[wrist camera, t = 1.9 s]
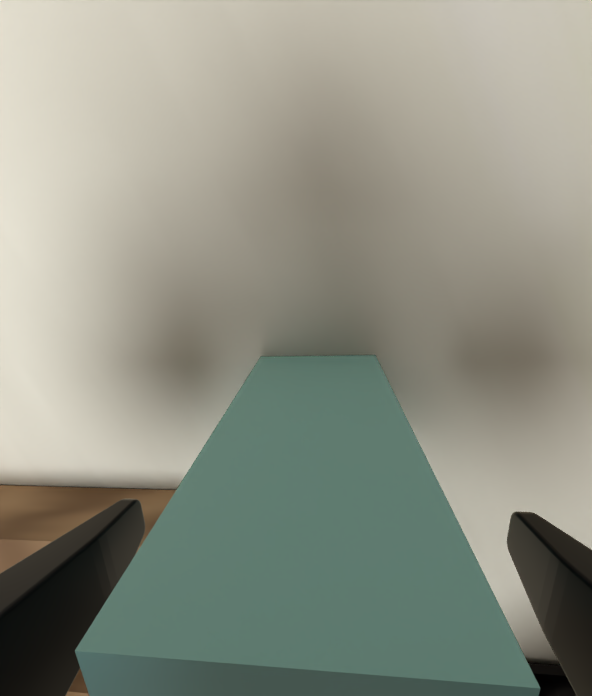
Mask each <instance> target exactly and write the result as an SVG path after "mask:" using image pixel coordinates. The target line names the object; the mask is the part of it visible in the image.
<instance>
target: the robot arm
mask: <svg viewBox="0 0 592 696" xmlns="http://www.w3.org/2000/svg"><path fill="white" fill-rule="evenodd" d="M144 533H145V520H144V516H143V511H142V506H141V502H140V501H139V500H138V499H121V500H120V501H118V502H116V503H115V504H113V505H111V506H110V507H108V508H106V509H105V510H103V511H102V512H100V513H98V514H97V515H95V516H93V517H92V518H90V519H88V520H87V521H85V522H84V523H82V524H80V525H79V526H77V527H75V528H74V529H72V530H70V531H69V532H67V533H66V534H64V535H62V536H61V537H59V538H57V539H56V540H54V541H52V542H51V543H49V544H48V545H46V546H44V547H43V548H41V549H39V550H38V551H36V552H34V553H33V554H31V555H29V556H28V557H26V558H25V559H23V560H21V561H20V562H18V563H16V564H15V565H13V566H11V567H10V568H8V569H7V570H5V571H3V572H2V573H0V696H66V694H67V692H68V690H69V688H70V686H71V685H72V683H73V681H74V679H75V677H76V675H77V673H78V671H79V669H80V666H79V662H78V659H77V656H76V653H75V650H76V648H77V646H78V645H79V643H80V642H81V640H82V639H83V637H84V635H85V634H86V632H87V631H88V629H89V627H90V626H91V624H92V623H93V621H94V620H95V618H96V616H97V615H98V613H99V612H100V610H101V608H102V607H103V605H104V604H105V602H106V601H107V599H108V597H109V596H110V594H111V593H112V591H113V589H114V588H115V586H116V585H117V583H118V582H119V580H120V578H121V577H122V575H123V574H124V572H125V570H126V569H127V567H128V566H129V564H130V563H131V561H132V559H133V558H134V556H135V555H136V552H137V550H138V548H139V545H140V543H141V541H142V538H143V536H144ZM507 546H508V550H509V553H510V555H511V557H512V560H513V562H514V565H515V567H516V569H517V572H518V574H519V576H520V579H521V581H522V583H523V586H524V588H525V591H526V593H527V595H528V598H529V600H530V602H531V605H532V607H533V609H534V612H535V614H536V617H537V619H538V621H539V623H540V625H541V628H542V630H543V632H544V634H545V636H546V638H547V640H548V642H549V644H550V646H551V648H552V650H553V652H554V653H555V655H556V657H557V659H558V661H559V663H560V665H561V666H559V665H546V664H532V663H528V664H529V666H530V668H531V670H532V672H533V674H534V676H535V678H536V680H537V682H538V684H539V686H540V692H539V696H592V550H591V549H589V548H588V547H586V546H585V545H583V544H582V543H580V542H579V541H577V540H575V539H574V538H572V537H571V536H569V535H568V534H566V533H565V532H563V531H562V530H560V529H558V528H557V527H555V526H554V525H552V524H551V523H549V522H548V521H546V520H545V519H543V518H541V517H540V516H538V515H537V514H535V513H532V512H514V513H513V514H512V515H511V520H510V525H509V531H508V537H507Z"/></svg>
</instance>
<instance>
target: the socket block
mask: <svg viewBox="0 0 592 696" xmlns="http://www.w3.org/2000/svg"><path fill="white" fill-rule="evenodd" d="M175 491H176V490H153V489H118V488H83V487H47V486H12V485H0V573H2V572H3V571H5V570H7V569H8V568H10V567H11V566H13V565H15V564H16V563H18V562H20V561H21V560H23V559H25V558H26V557H28V556H29V555H31V554H33V553H34V552H36V551H38V550H39V549H41V548H43V547H44V546H46V545H48V544H49V543H51V542H52V541H54V540H56V539H57V538H59V537H61V536H62V535H64V534H66V533H67V532H69V531H70V530H72V529H74V528H75V527H77V526H79V525H80V524H82V523H84V522H85V521H87V520H88V519H90V518H92V517H93V516H95V515H97V514H98V513H100V512H102V511H103V510H105V509H106V508H108V507H110V506H111V505H113V504H115V503H116V502H118V501H120V500H121V499H138V500H139V501H140V502H141V506H142V511H143V516H144V520H145V533H144V536H143V538H142V541H141V543H140V545H139V548H140V547H141V545H142V544H143V542H144V540H145V539H146V537H147V536H148V534H149V533H150V531H151V529H152V528H153V526H154V525H155V523H156V521H157V520H158V518H159V517H160V515H161V514H162V512H163V510H164V509H165V507H166V506H167V504H168V502H169V501H170V499H171V498H172V496H173V495H174V493H175ZM139 548H138V550H139ZM138 550H137V552H138ZM137 552H136V553H137ZM66 696H89V693H88V690H87V687H86V684H85V681H84V678H83V675H82V672H81V669H79V671H78V673H77V675H76V677H75V679H74V681H73V683H72V685H71V686H70V688H69V690H68V692H67V694H66Z"/></svg>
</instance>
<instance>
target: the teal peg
mask: <svg viewBox="0 0 592 696" xmlns="http://www.w3.org/2000/svg"><path fill="white" fill-rule="evenodd" d="M75 653H76V656H77V659H78V662H79V666H80V669H81V672H82V675H83V678H84V681H85V684H86V687H87V690H88V693H89V696H539V692H540V686H539V684H538V682H537V680H536V678H535V676H534V674H533V672H532V670H531V668H530V666H529V664H528V662H527V660H526V658H525V656H524V654H523V652H522V650H521V648H520V646H519V644H518V642H517V640H516V638H515V636H514V634H513V632H512V630H511V628H510V626H509V624H508V622H507V620H506V618H505V616H504V614H503V612H502V610H501V608H500V606H499V604H498V602H497V600H496V598H495V596H494V594H493V592H492V590H491V588H490V586H489V583H488V581H487V579H486V577H485V575H484V573H483V571H482V569H481V567H480V565H479V563H478V561H477V559H476V557H475V555H474V553H473V551H472V549H471V547H470V545H469V543H468V541H467V539H466V537H465V535H464V533H463V531H462V529H461V527H460V525H459V523H458V521H457V519H456V517H455V515H454V513H453V511H452V509H451V507H450V505H449V503H448V501H447V499H446V497H445V495H444V493H443V491H442V489H441V487H440V485H439V483H438V481H437V479H436V477H435V475H434V473H433V471H432V469H431V467H430V465H429V463H428V461H427V459H426V456H425V454H424V452H423V450H422V448H421V446H420V444H419V442H418V440H417V438H416V436H415V434H414V432H413V430H412V428H411V426H410V424H409V422H408V420H407V418H406V416H405V414H404V412H403V410H402V408H401V406H400V404H399V402H398V400H397V398H396V396H395V394H394V392H393V390H392V388H391V386H390V384H389V382H388V380H387V378H386V376H385V374H384V372H383V370H382V368H381V366H380V364H379V362H378V360H377V358H376V356H375V355H341V356H261V357H260V359H259V360H258V362H257V363H256V365H255V366H254V368H253V370H252V371H251V373H250V374H249V376H248V377H247V379H246V381H245V382H244V384H243V385H242V387H241V389H240V390H239V392H238V393H237V395H236V396H235V398H234V400H233V401H232V403H231V404H230V406H229V408H228V409H227V411H226V412H225V414H224V415H223V417H222V419H221V420H220V422H219V423H218V425H217V427H216V428H215V430H214V431H213V433H212V434H211V436H210V438H209V439H208V441H207V442H206V444H205V446H204V447H203V449H202V450H201V452H200V453H199V455H198V457H197V458H196V460H195V461H194V463H193V465H192V466H191V468H190V469H189V471H188V472H187V474H186V476H185V477H184V479H183V480H182V482H181V483H180V485H179V487H178V488H177V490H176V491H175V493H174V495H173V496H172V498H171V499H170V501H169V502H168V504H167V506H166V507H165V509H164V510H163V512H162V514H161V515H160V517H159V518H158V520H157V521H156V523H155V525H154V526H153V528H152V529H151V531H150V533H149V534H148V536H147V537H146V539H145V540H144V542H143V544H142V545H141V547H140V548H139V550H138V552H137V553H136V555H135V556H134V558H133V559H132V561H131V563H130V564H129V566H128V567H127V569H126V570H125V572H124V574H123V575H122V577H121V578H120V580H119V582H118V583H117V585H116V586H115V588H114V589H113V591H112V593H111V594H110V596H109V597H108V599H107V601H106V602H105V604H104V605H103V607H102V608H101V610H100V612H99V613H98V615H97V616H96V618H95V620H94V621H93V623H92V624H91V626H90V627H89V629H88V631H87V632H86V634H85V635H84V637H83V639H82V640H81V642H80V643H79V645H78V646H77V648H76V650H75Z"/></svg>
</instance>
